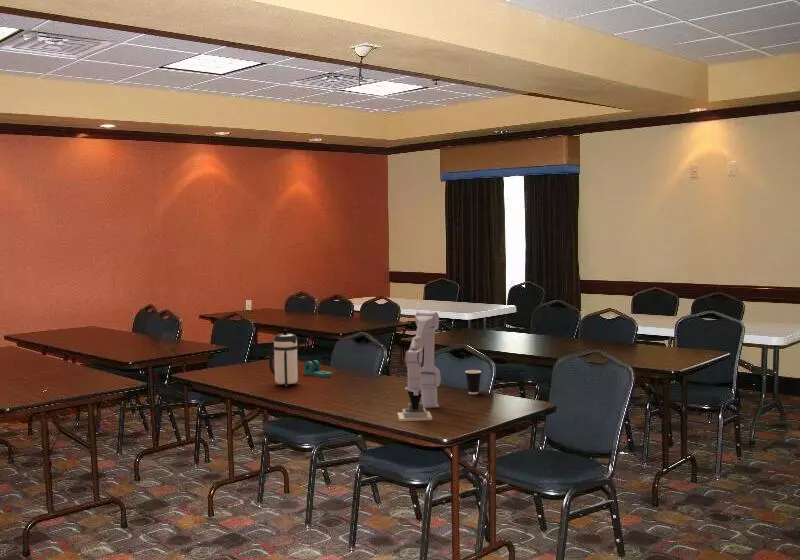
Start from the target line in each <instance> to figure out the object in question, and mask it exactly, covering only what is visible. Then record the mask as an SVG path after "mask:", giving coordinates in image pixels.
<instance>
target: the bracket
mask: <svg viewBox="0 0 800 560" xmlns="http://www.w3.org/2000/svg"><path fill="white" fill-rule="evenodd" d="M303 375H304V376H305V375H306V376H311V377H318V378H324V379H327V378H332V376H333V374H332V372H331V371H325V370H321V363H320V361H319V360H318V359H317V360H316V359H314V360H310V361H309V360H307V361H305V362H304V363H303Z"/></svg>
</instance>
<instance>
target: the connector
mask: <svg viewBox="0 0 800 560" xmlns="http://www.w3.org/2000/svg"><path fill="white" fill-rule="evenodd" d="M407 403H408V408H407V409H408V412H423V404H422V403H421V402H419V406H418V410H413V409H412V403H411V402H407Z"/></svg>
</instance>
